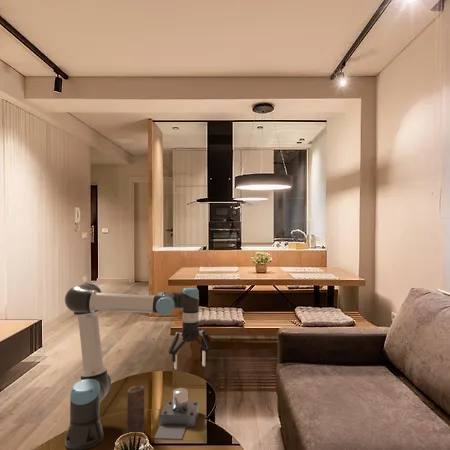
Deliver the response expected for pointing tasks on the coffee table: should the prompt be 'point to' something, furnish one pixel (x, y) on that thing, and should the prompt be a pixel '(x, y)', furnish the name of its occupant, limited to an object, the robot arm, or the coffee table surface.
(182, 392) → the silver stepped plug
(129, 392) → the candle
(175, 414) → the housing
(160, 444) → the coffee table surface
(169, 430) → the mat
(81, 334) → the robot arm
